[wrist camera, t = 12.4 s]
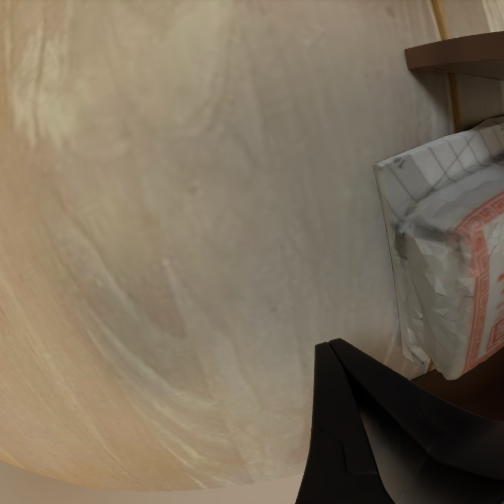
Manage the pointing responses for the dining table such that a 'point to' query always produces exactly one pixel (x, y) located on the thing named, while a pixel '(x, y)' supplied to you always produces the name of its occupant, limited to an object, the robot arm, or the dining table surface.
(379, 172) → the packaged product
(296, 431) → the dining table surface
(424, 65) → the cubby shelf
